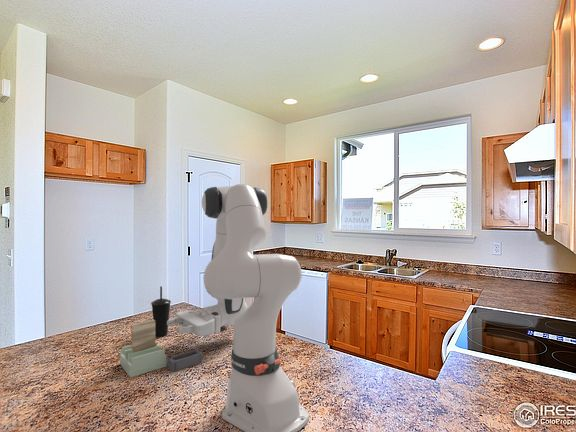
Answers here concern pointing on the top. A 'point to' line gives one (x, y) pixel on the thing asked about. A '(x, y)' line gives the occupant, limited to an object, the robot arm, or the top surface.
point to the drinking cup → (161, 315)
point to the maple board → (142, 336)
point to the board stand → (184, 360)
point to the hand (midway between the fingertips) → (172, 327)
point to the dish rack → (142, 360)
